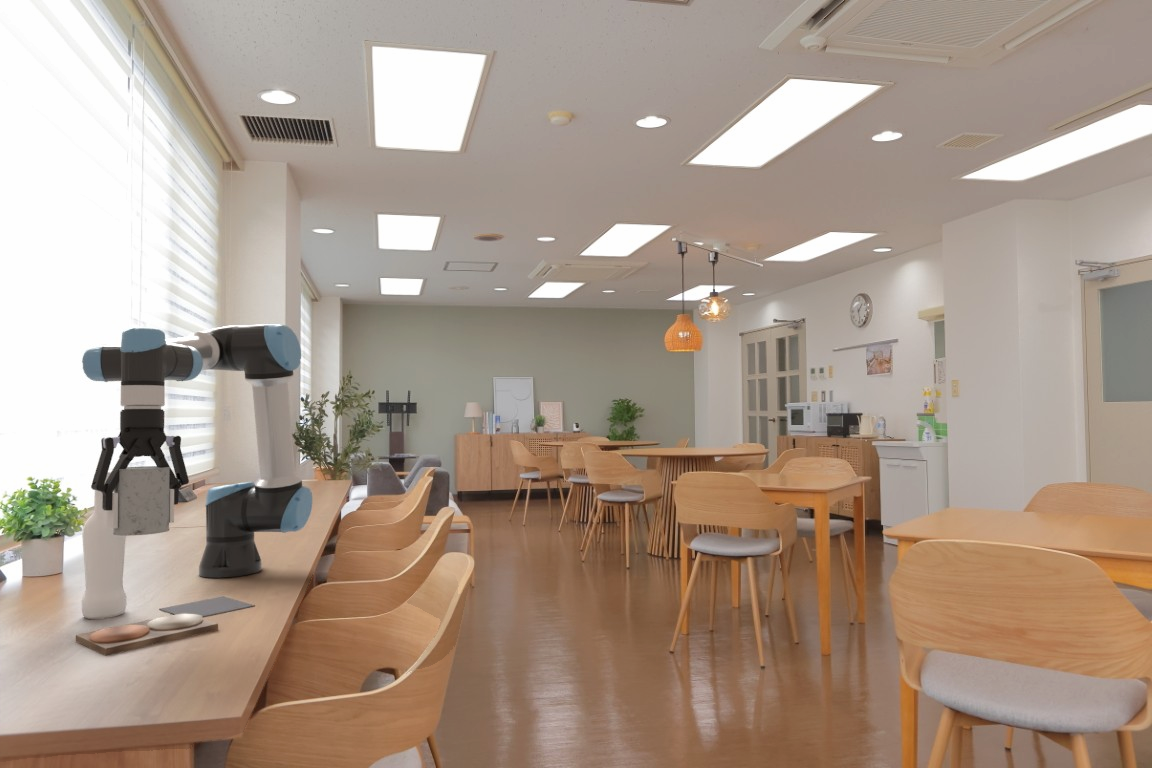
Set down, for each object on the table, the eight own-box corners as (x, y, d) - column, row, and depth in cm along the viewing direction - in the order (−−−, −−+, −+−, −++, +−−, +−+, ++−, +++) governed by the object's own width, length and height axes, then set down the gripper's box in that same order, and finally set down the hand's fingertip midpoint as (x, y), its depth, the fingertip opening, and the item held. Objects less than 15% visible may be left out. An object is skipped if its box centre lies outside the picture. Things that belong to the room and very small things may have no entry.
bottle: (135, 611, 170) (135, 470, 171) (101, 621, 163) (101, 473, 164) (106, 608, 173) (106, 469, 174) (72, 618, 165) (72, 472, 166)
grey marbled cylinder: (145, 535, 148) (146, 469, 149) (100, 535, 150) (101, 469, 151) (180, 528, 157) (181, 466, 158) (138, 528, 159) (138, 466, 160)
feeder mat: (223, 597, 182) (223, 596, 182) (254, 606, 173) (254, 605, 173) (159, 609, 172) (159, 608, 172) (189, 620, 163) (189, 619, 163)
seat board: (184, 618, 164) (185, 609, 164) (218, 629, 155) (218, 620, 155) (75, 641, 149) (75, 631, 149) (105, 655, 140) (105, 645, 140)
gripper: (191, 408, 166) (190, 517, 165) (71, 408, 149) (69, 529, 148) (208, 408, 161) (208, 520, 160) (86, 407, 144) (84, 533, 143)
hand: (141, 524), depth 154 cm, fingers closed on grey marbled cylinder, 9 cm apart
